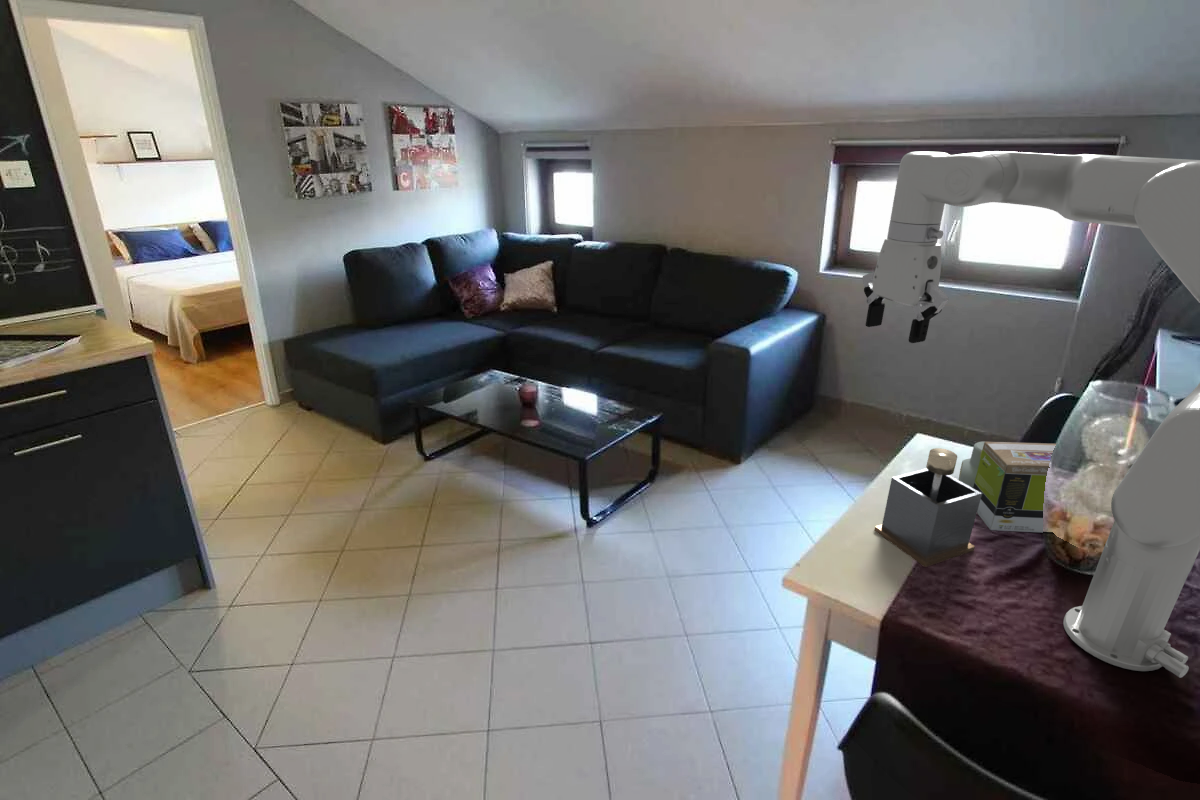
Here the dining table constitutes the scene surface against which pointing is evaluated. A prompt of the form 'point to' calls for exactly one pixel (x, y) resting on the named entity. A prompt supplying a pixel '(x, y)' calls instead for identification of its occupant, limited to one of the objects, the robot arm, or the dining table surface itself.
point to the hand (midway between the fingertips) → (894, 333)
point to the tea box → (1013, 485)
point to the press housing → (929, 517)
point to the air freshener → (971, 465)
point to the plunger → (940, 467)
